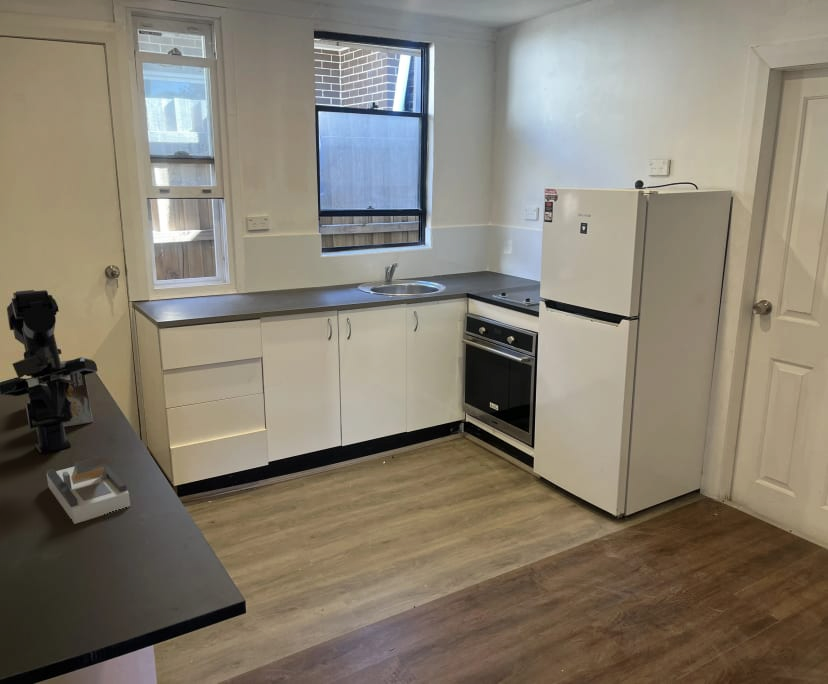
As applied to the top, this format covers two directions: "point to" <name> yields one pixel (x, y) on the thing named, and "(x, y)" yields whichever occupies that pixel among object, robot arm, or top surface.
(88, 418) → the coffee box
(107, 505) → the tray
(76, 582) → the top surface
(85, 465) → the lever
